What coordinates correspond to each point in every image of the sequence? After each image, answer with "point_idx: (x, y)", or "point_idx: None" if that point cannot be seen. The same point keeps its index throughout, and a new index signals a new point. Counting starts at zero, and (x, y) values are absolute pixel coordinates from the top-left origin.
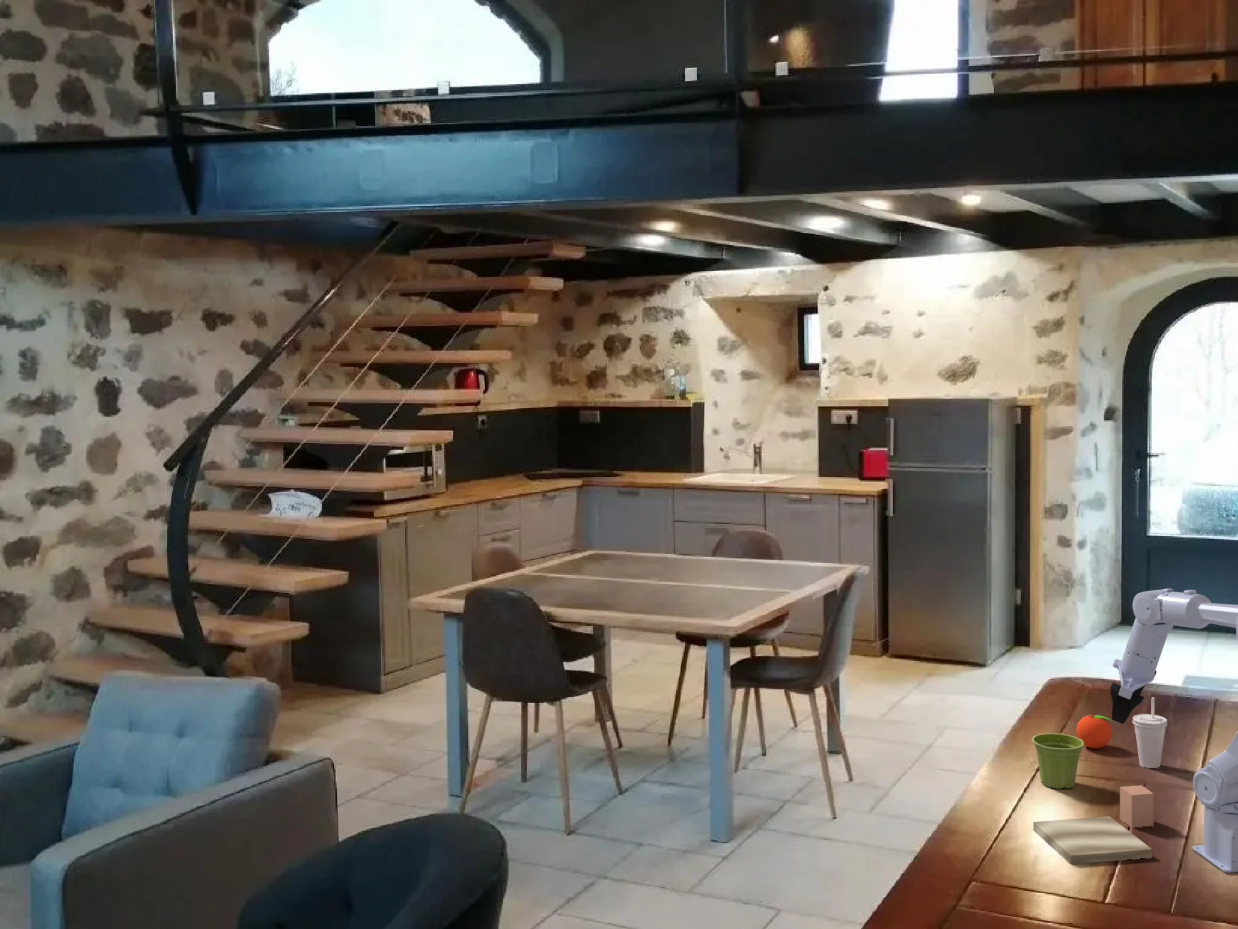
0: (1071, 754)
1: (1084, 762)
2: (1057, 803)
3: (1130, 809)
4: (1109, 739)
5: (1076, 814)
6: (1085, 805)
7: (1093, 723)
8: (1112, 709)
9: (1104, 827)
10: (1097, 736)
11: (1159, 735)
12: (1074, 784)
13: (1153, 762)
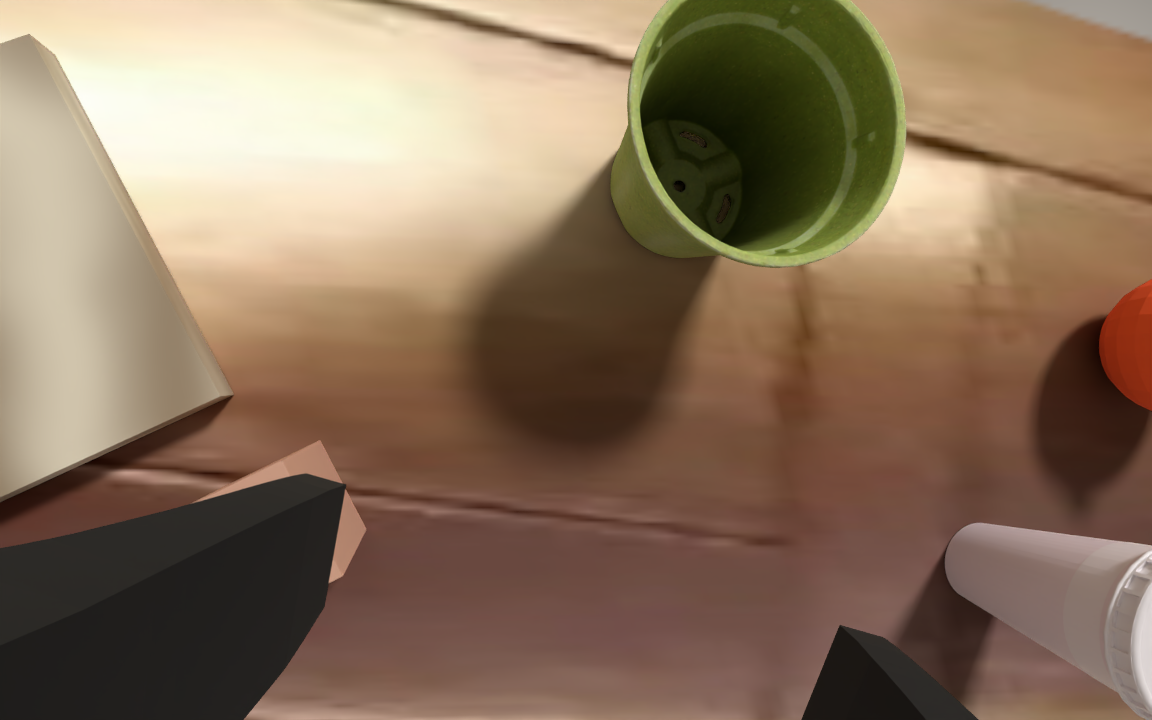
0: (655, 199)
1: (951, 307)
2: (443, 178)
3: (199, 499)
4: (1150, 410)
5: (327, 255)
6: (451, 297)
7: None
8: (161, 513)
9: (53, 369)
10: (1139, 359)
11: (1083, 664)
12: (668, 256)
13: (966, 585)
